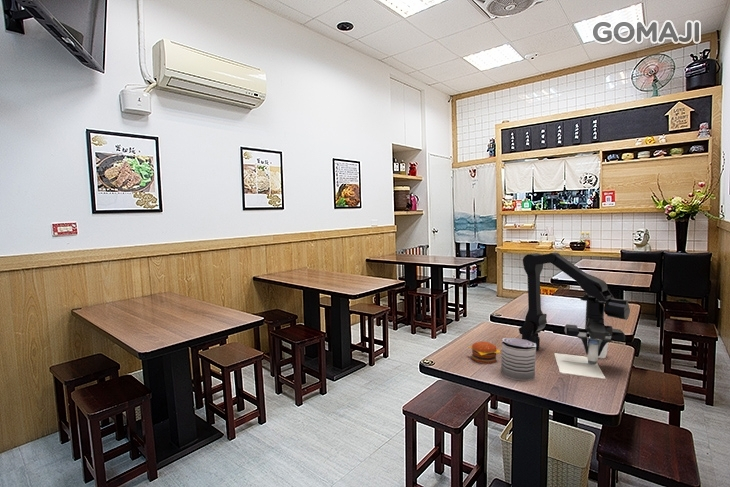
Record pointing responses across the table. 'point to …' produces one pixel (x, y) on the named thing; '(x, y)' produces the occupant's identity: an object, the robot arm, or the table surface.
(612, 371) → the table surface
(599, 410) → the table surface
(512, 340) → the can
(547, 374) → the table surface
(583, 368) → the paper
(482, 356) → the hamburger
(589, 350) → the marker
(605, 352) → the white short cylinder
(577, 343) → the table surface
